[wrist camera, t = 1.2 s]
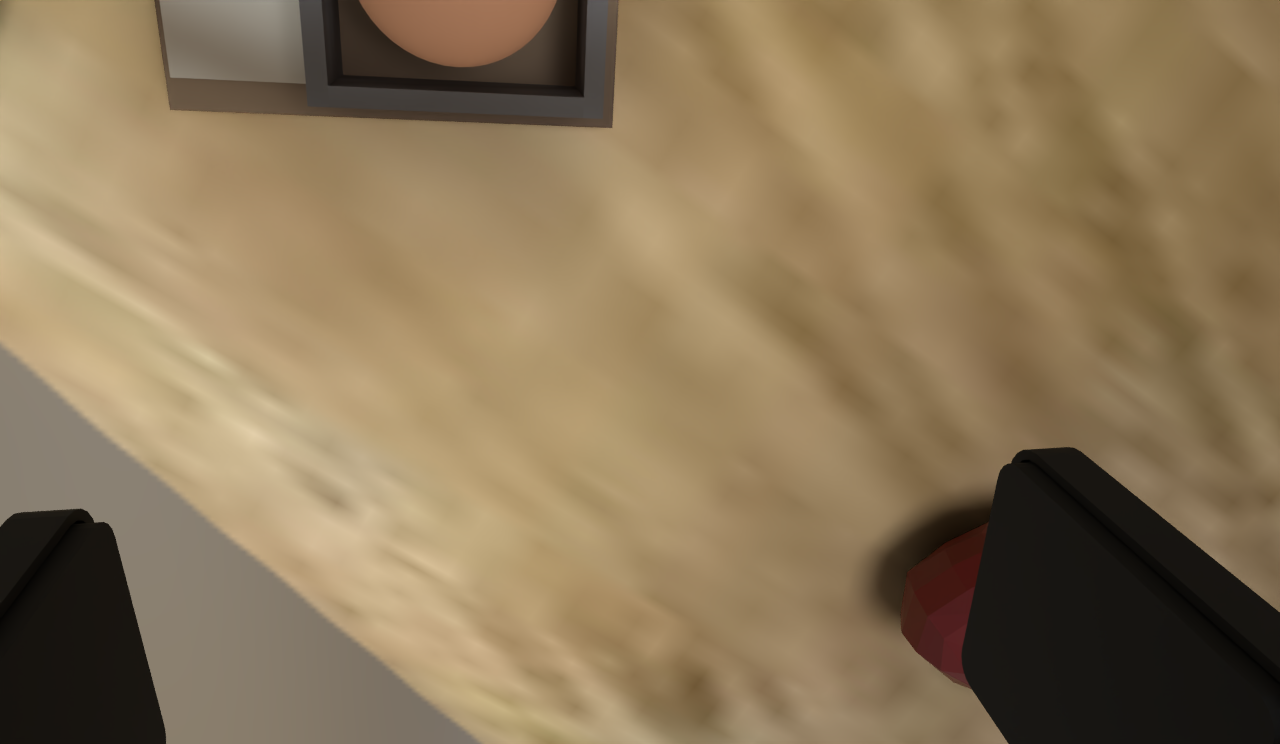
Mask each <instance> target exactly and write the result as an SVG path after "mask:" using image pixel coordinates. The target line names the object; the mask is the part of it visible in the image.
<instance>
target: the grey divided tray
mask: <svg viewBox="0 0 1280 744" xmlns="http://www.w3.org/2000/svg"><path fill="white" fill-rule="evenodd" d="M155 7H156V14H157V21H158V28H159V35H160V42H161V49H162V56H163V63H164V70H165V77H166V84H167V91H168V98H169V105H170V110H187V111H212V112H236V113H260V114H285V115H309V116H333V117H357V118H382V119H406V120H430V121H455V122H479V123H504V124H528V125H552V126H576V127H601V128H612V121H613V100H614V80H615V60H616V39H617V19H618V0H557V1H556V4H555V6H554V8H553V10H552V12H551V14H550V16H549V18H548V20H547V21H546V23H545V24H544V25H543V27H542V28H541V30H540V31H539V32H538V33H537V34H536V35H535V36H534V38H533V39H532V40H531V41H529V42H528V43H527V44H526V45H525V46H524V47H522V48H521V49H520V50H518V51H516V52H515V53H513V54H512V55H510V56H508V57H506V58H504V59H502V60H499V61H497V62H493V63H490V64H487V65H482V66H475V67H451V66H444V65H440V64H436V63H432V62H429V61H426V60H424V59H421V58H419V57H416V56H415V55H413V54H411V53H409V52H407V51H405V50H404V49H402V48H401V47H400V46H398V45H397V44H395V43H394V42H393V41H391V40H390V39H389V38H388V37H387V36H386V35H385V34H384V33H383V32H382V31H381V30H380V29H379V28H378V27H377V26H376V25H375V23H374V22H373V21H372V20H371V19H370V17H369V16H368V14H367V13H366V11H365V10H364V8H363V7H362V5H361V3H360V1H359V0H155Z"/></svg>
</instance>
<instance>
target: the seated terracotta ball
mask: <svg viewBox="0 0 1280 744" xmlns="http://www.w3.org/2000/svg"><path fill="white" fill-rule="evenodd" d="M359 1H360V3H361V5H362V7H363V8H364V10H365V11H366V13H367V14H368V16H369V17H370V19H371V20H372V21H373V22H374V23H375V25H376V26H377V27H378V28H379V29H380V30H381V31H382V32H383V33H384V34H385V35H386V36H387V37H388V38H389V39H390V40H391V41H393V42H394V43H395V44H397V45H398V46H400V47H401V48H402V49H404V50H405V51H407V52H409V53H411V54H413V55H415V56H416V57H419V58H421V59H424V60H426V61H429V62H432V63H436V64H440V65H444V66H451V67H475V66H482V65H487V64H490V63H493V62H497V61H499V60H502V59H504V58H506V57H508V56H510V55H512V54H513V53H515V52H516V51H518V50H520V49H521V48H522V47H524V46H525V45H526V44H527V43H528V42H529V41H531V40H532V39H533V38H534V36H535V35H536V34H537V33H538V32H539V31H540V30H541V28H542V27H543V25H544V24H545V23H546V21H547V20H548V18H549V16H550V14H551V12H552V10H553V8H554V6H555V4H556V1H557V0H359Z"/></svg>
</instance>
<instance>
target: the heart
mask: <svg viewBox="0 0 1280 744" xmlns="http://www.w3.org/2000/svg"><path fill="white" fill-rule="evenodd" d="M988 523H989V522H988ZM988 523H986V524H984V525H981V526H979V527H977V528H975V529H973V530H971V531H969V532H967V533H965V534H962V535H960V536H958V537H956V538H954V539H952V540H950V541H948V542H946V543H944V544H943V545H942V546H941V547H939V548H938V549H937V550H935V551H934V552H933V553H931V554H930V555H929V556H927V557H926V558H925V559H923V560H922V561H921V562H919V563H918V564H917V565H916V566H914V567H913V568H912V569H911V570H910V571H908V572H907V577H906V583H905V589H904V595H903V602H902V608H901V614H900V617H901V631H902V633H903V635H904V636H905V637H906V639H907V640H908V642H909V643H910V644H911V646H912V647H913V648H914V650H915V651H916V652H917V653H918V654H919V655H921V656H922V657H923V658H924V659H926V660H927V661H928V662H929V663H930V664H932V665H933V666H934V667H935V668H937V669H938V670H939V671H940V672H942V673H943V674H944V675H945V676H946V677H948V678H949V679H950V680H951V681H953V682H954V683H957V684H960V685H962V686H965V687H968V688H970V689H971V687H970V685H969V684H968V682H967V680H966V677H965V674H964V671H963V667H962V658H961V654H962V646H963V642H964V637H965V632H966V627H967V623H968V618H969V613H970V608H971V604H972V599H973V594H974V589H975V584H976V580H977V575H978V570H979V565H980V561H981V556H982V551H983V546H984V542H985V537H986V532H987V527H988Z"/></svg>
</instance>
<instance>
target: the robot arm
mask: <svg viewBox="0 0 1280 744" xmlns="http://www.w3.org/2000/svg"><path fill="white" fill-rule="evenodd" d="M961 658H962V667H963V671H964V674H965V677H966V680H967V682H968V684H969V685H970V687H971V689H972V690H973V692H974V693H975V694H976V696H977V697H978V699H979V700H980V702H981V703H982V705H983V706H984V708H985V709H986V711H987V712H988V714H989V715H990V717H991V718H992V720H993V721H994V723H995V724H996V726H997V727H998V729H999V730H1000V732H1001V733H1002V735H1003V736H1004V737H1005V739H1006V740H1007V742H1008V743H1009V744H1280V612H1278V611H1277V610H1276V609H1275V608H1273V607H1272V606H1271V605H1270V604H1268V603H1267V602H1266V601H1265V600H1264V599H1262V598H1261V597H1260V596H1259V595H1257V594H1256V593H1255V592H1254V591H1252V590H1251V589H1250V588H1249V587H1247V586H1246V585H1245V584H1244V583H1243V582H1241V581H1240V580H1239V579H1238V578H1236V577H1235V576H1234V575H1233V574H1231V573H1230V572H1229V571H1228V570H1226V569H1225V568H1224V567H1223V566H1222V565H1220V564H1219V563H1218V562H1217V561H1215V560H1214V559H1213V558H1212V557H1210V556H1209V555H1208V554H1207V553H1205V552H1204V551H1203V550H1202V549H1201V548H1199V547H1198V546H1197V545H1196V544H1194V543H1193V542H1192V541H1191V540H1189V539H1188V538H1187V537H1186V536H1184V535H1183V534H1182V533H1181V532H1180V531H1178V530H1177V529H1176V528H1175V527H1173V526H1172V525H1171V524H1170V523H1168V522H1167V521H1166V520H1165V519H1163V518H1162V517H1161V516H1160V515H1159V514H1157V513H1156V512H1155V511H1154V510H1152V509H1151V508H1150V507H1149V506H1147V505H1146V504H1145V503H1144V502H1142V501H1141V500H1140V499H1139V498H1138V497H1136V496H1135V495H1134V494H1133V493H1131V492H1130V491H1129V490H1128V489H1126V488H1125V487H1124V486H1123V485H1121V484H1120V483H1119V482H1118V481H1117V480H1115V479H1114V478H1113V477H1112V476H1110V475H1109V474H1108V473H1107V472H1105V471H1104V470H1103V469H1102V468H1100V467H1099V466H1098V465H1097V464H1096V463H1094V462H1093V461H1092V460H1091V459H1089V458H1088V457H1087V456H1086V455H1084V454H1083V453H1082V452H1081V451H1079V450H1077V449H1075V448H1070V447H1064V448H1047V449H1031V450H1022V451H1020V452H1019V453H1017V454H1016V456H1015V457H1014V458H1013V460H1012V463H1011V464H1007V465H1005V466H1003V468H1002V469H1001V470H1000V473H999V476H998V480H997V484H996V489H995V494H994V499H993V504H992V508H991V513H990V518H989V523H988V527H987V532H986V537H985V542H984V546H983V551H982V556H981V561H980V565H979V570H978V575H977V580H976V584H975V589H974V594H973V599H972V604H971V608H970V613H969V618H968V623H967V627H966V632H965V637H964V642H963V646H962V654H961ZM0 744H166V733H165V727H164V723H163V719H162V715H161V711H160V707H159V703H158V700H157V696H156V692H155V688H154V685H153V681H152V677H151V673H150V669H149V665H148V661H147V658H146V654H145V650H144V646H143V642H142V638H141V635H140V631H139V627H138V623H137V619H136V615H135V612H134V608H133V604H132V600H131V596H130V592H129V589H128V585H127V581H126V577H125V573H124V570H123V566H122V562H121V558H120V554H119V551H118V546H117V543H116V539H115V536H114V533H113V530H112V528H111V527H110V526H109V524H107V523H105V522H98V523H94V520H93V518H92V517H91V516H90V514H89V513H88V512H87V511H85V510H83V509H70V510H53V511H37V512H23V513H22V512H21V513H16V514H13V515H12V516H11V517H10V518H8V519H7V520H6V521H5V522H4V523H3V525H2V526H1V527H0Z"/></svg>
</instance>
